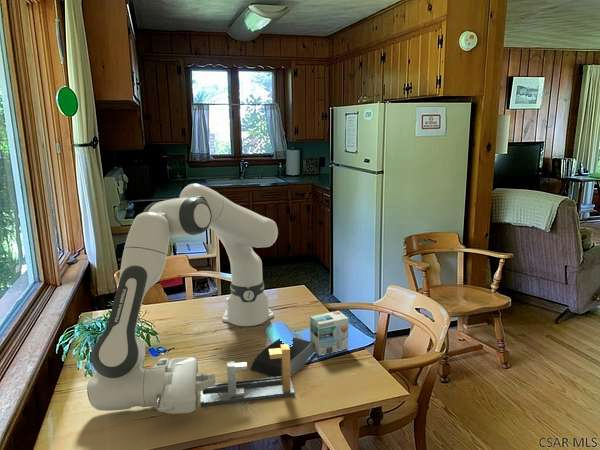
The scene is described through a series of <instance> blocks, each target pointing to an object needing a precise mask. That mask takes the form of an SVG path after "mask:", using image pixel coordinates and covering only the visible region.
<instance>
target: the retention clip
mask: <svg viewBox="0 0 600 450" xmlns="http://www.w3.org/2000/svg"><path fill="white" fill-rule="evenodd" d="M247 364H248V363H247V361H243V362H235V361H226V374H227V377H226V379H227V382H228V398H231V397H239V396H244V388H238V389H236V381H237V380H236V377H237V376H236V371H239V370H247V369H248V365H247Z"/></svg>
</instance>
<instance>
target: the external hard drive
mask: <svg viewBox="0 0 600 450" xmlns="http://www.w3.org/2000/svg"><path fill="white" fill-rule="evenodd" d="M292 337H293V336H292ZM292 341H293V344H292V345H293V346H292V347H289V348H290V377H292V376H293V375H294V374H295V373H297V372H298V371H299V370H300V369H301V368H303V367H304V366H305V365H306V364H307V363H306V361H307V359H308V358H309V357H310V356H311V355H312V354H313V353H314V352H315V348H314V344H313V342H310V340H305V339H303V338H302V339H301V338H297V337H293V340H292ZM281 344H284V343H282V341H280V338H279V339H277V340H275V341H274V342H272V343H270V344H269V345H267V346H266V347H265V348H264V349H263V350H261V352H260V353H259V354H258V355H257V356H256V357H255V358H254V360H253V362H252V364H251V366H250V371H252V372H255V373H258V374H260V375H261V374H262V375H264V376H268V377H278V376H281V358H276V359H270V356H269V349H276V348H281V347H280V345H281ZM290 346H291V345H290ZM305 363H306V364H305Z"/></svg>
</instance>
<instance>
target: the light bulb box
mask: <svg viewBox="0 0 600 450" xmlns="http://www.w3.org/2000/svg"><path fill="white" fill-rule="evenodd" d="M309 318H310V320H309V322H310V323H309V324H310V325H309V326H310V327H309V329H310V331H309V334H310V336H309V341H310V342H313V344H314V348H315V352H316V353H317V354H318V355H321V354H327V353H331V352H335V351H339V350H344V349H348V350H349V326H350V325H349V323H350V321H349V320H350V319H349V317H348V316H346V315H345V314H344V313H342V312H341V311H340V310H336V311H331V312H326V313H321V314H314V315H310V317H309ZM316 353H315V354H316ZM317 354H316V355H317ZM318 355H317V356H318ZM327 355H328V354H327Z"/></svg>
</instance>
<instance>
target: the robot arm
mask: <svg viewBox="0 0 600 450" xmlns="http://www.w3.org/2000/svg"><path fill="white" fill-rule="evenodd" d="M208 229H210V230H212V231H213V232H214V235H215V236H216V238H218V239H219V240H220V242H221V243H222V245H223V247H224V248H225V251H226V254H227V256H228V260H229V263H230V275H231V276H230V277H231V278H230V279H231V282H230V287H229V288H230V294H229V296H228V297H225V298H226V299H225V303H226V305H227V306H226V309H225V311H224V314H223V316H222V322H224V323H225V322H226V323H229V324H232V325H233V326H238V327H239V326H240V327H252V326H258V325H261V324H263V323H265V322H266V321H268V320H269V319H272V318H274V317H275V314H274V312H273V311H272V310H271V309H270V304H269V303H270V302H269V295H267V293H266V292H265V283H264V280H263V262H262V259H261V258H260V256H259V255H258V254H257V253H256V252H255V251H254V248H269V247H271V246H273V244H274V243H275V242H276V240H277V239H278V235H279V228H278V226H277V223H276V221H274V220H273V219H271V218H269V217H266V216H264V215H261V214H259V213H257V212H254V211H252V210H251V209H248V208H246V207H243V206H241V205H239V204H238V203H237V204H236V203H235V202H233V201H232V200H230V199H228V198H227V197H225V196H224V195H222V194H220V192H218V191H216V190H214V189H212V188H210V187H208V186H205V185H204V184H200V183H190V184H187V186H185V187H184V188H183V189H182V190H181V192H180V194H179V197H178V198H176V197H175V198H171V199H166V200H165V199H164V200H162V201H159V200H158V201H154V202H152V203H150V204H149V205H147V206H146V207H145V208H144V209H143V211H142V212H141V213H139V214H137V215H136V216H135V218H134V220H133V221H132V224H131V225H130V229H129V230H128V234H127V236H126V241H125V244H124V247H123V248H124V249H123V252H122V256H121V261H120V262H121V263H120V270H119V271H120V273H119V278H118V285H117V289H116V292H115V296H114V300H113V304H112V306H111V311H110V314H109V319H108V321H107V324H106V327H105V329H104V330H103V333H102V334H101V335H100V337H98V339H97V341H96V342H95V343H94V346H93V348H92V351H91V359H90V360H91V363H92V366H93V368H94V370H95V371H94V373H93V374H92V376H91V377H90V378H89V379H88V381H87V382H88V383H87V388H86V390H87V398H88V401H89V404H90V406H91V407H92V408H93V409H95V410H97V411H102V412H103V411H104V412H106V411H108V412H111V411H113V412H114V411H122V410H123V411H124V410H128V409H132V408H135V407H141V408H147V407H148V408H149V407H154V409H155V410H156V411H158V412H160V413H166V414H172V415H173V414H175V415H176V414H189V413H193V412H194V411H196V408H197V407H196V406H197V393H198V392H201V391H202V390H204V389H206V388H208V387H214V386H215V383H216V375H215V374H207V373H203V372H198V371H199V370H198V369H199V367H198V363H199V361H198V358H196V357H193V356H185V357H175V358H171V359H169V358H168V357H167V358H166V357H164V358H160V359H159V360H158V362H156V363H155V365H153V366H152V367H150V368H151V369H147V368H143V367H144V363H145V357H146V351H147V350H146V347H145V343H144V342H143V339H141V338H140V337H139V336H138V335H137V334H136V328H137V324H138V320H139V316H140V312H141V309H142V304H143V301H144V297H146V294H147V292H148V291H149V290H150V288H151V287H153V286H154V285H155V284H156V283H158V282H159V280H160V279H161V277H162V274H163V272H164V270H165V269H164V268H165V265H166V261H167V257H168V253H169V252H168V251H169V244H170V239H172V238H180V237H186V236H196V235H200V234H203V233H205V232H206V231H207V230H208ZM143 369H145V370H143Z"/></svg>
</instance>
